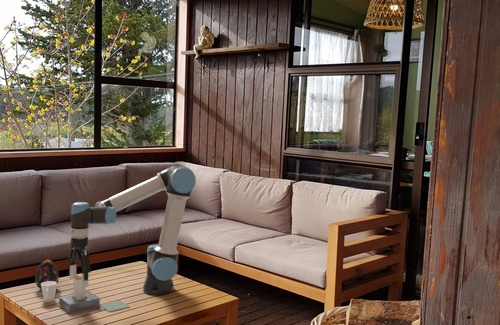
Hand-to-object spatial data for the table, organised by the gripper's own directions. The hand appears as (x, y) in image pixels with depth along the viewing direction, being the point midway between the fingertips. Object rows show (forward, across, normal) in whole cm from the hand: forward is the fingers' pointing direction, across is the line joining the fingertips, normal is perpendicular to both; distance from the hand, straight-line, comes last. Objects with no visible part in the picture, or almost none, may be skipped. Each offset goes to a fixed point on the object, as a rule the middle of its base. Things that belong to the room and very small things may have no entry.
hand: (78, 282), depth 234 cm
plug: (+11, 0, 0) cm, 11 cm away
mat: (+11, +10, +13) cm, 19 cm away
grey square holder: (+11, 0, 0) cm, 11 cm away
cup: (+11, -14, -8) cm, 20 cm away
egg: (+11, -30, -4) cm, 32 cm away
